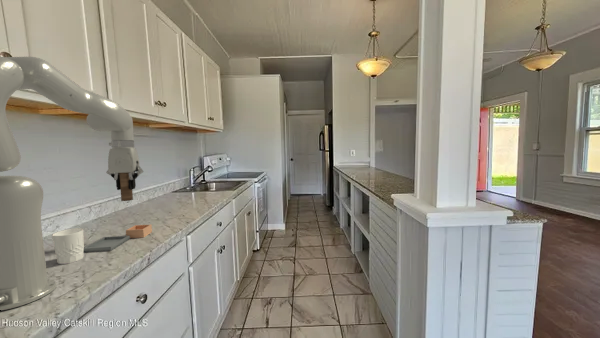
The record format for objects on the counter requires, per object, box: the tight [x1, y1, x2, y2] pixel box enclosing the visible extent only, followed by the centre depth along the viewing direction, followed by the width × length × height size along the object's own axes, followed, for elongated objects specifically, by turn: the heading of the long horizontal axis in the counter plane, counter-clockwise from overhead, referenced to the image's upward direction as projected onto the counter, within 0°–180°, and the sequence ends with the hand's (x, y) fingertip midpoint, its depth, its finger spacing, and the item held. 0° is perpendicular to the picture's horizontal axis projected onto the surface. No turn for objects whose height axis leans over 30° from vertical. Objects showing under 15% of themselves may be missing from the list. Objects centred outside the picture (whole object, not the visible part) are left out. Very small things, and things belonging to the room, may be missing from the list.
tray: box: [84, 235, 131, 253], centre depth 97 cm, size 12×10×2 cm
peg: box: [119, 173, 134, 202], centre depth 103 cm, size 4×4×12 cm
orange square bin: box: [125, 224, 153, 239], centre depth 108 cm, size 7×7×4 cm
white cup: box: [51, 228, 85, 265], centre depth 85 cm, size 8×8×10 cm
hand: (126, 188), depth 103 cm, fingers closed on peg, 4 cm apart
